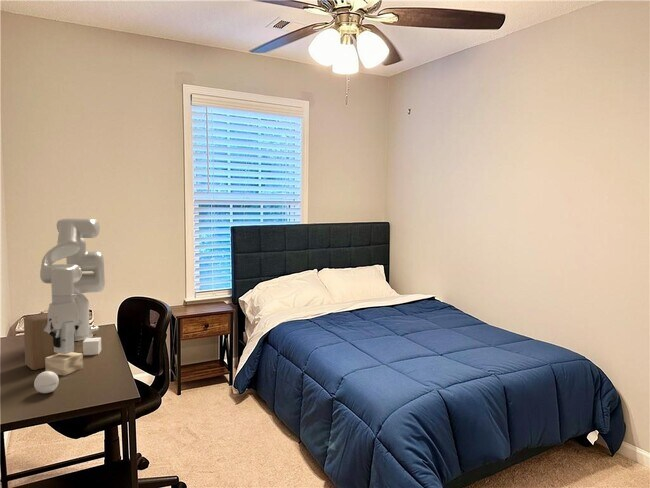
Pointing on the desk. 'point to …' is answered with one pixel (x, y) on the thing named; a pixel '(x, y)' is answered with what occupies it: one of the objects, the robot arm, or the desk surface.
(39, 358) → the block
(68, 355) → the beech block
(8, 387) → the desk surface
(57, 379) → the white ellipsoid
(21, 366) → the desk surface
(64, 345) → the skincare box
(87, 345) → the cream white cube
